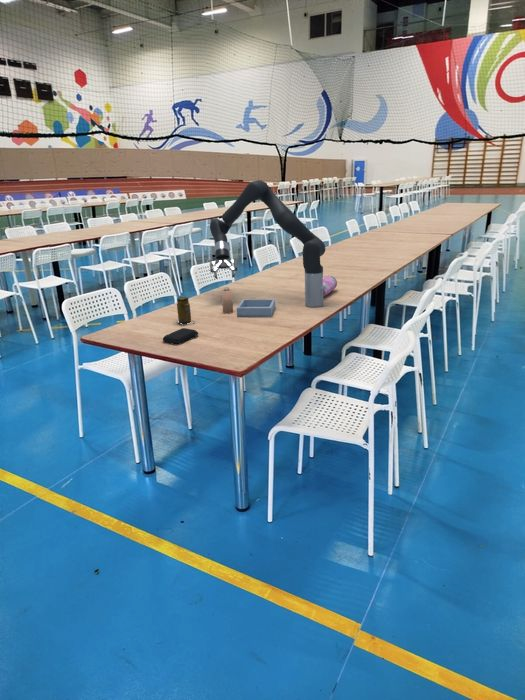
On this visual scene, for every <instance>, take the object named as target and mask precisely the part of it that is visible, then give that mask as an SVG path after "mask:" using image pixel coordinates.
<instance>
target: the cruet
mask: <svg viewBox="0 0 525 700" xmlns="http://www.w3.org/2000/svg"><path fill="white" fill-rule="evenodd" d="M220 291H221V304H222V313H223V312H224V313H223V314H230V312H232V313H234V303H233V291H232V289H230V286H224V287H223V289H222V290H220Z"/></svg>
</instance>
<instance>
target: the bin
mask: <svg viewBox="0 0 525 700" xmlns="http://www.w3.org/2000/svg"><path fill="white" fill-rule="evenodd" d="M275 309H277V307H276V299H275V298H271V299H270V298H269V299H267V298H263V299H262V298H258V299H256V298H255V299H253V298H252V299H251V298H249V299H247V298H246V299H244V298H243V299H241V301H240V302H239V304H238V305H237V307H236V316H237V318H272V316H273V314H274V313H275Z"/></svg>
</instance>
